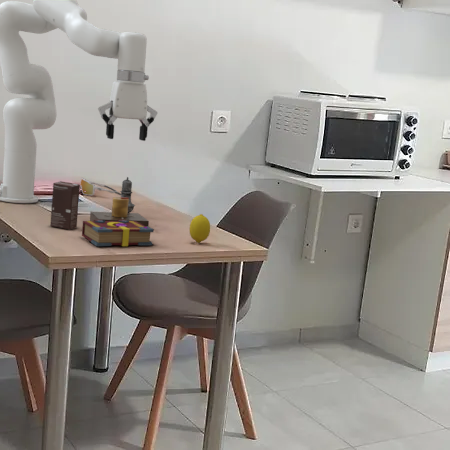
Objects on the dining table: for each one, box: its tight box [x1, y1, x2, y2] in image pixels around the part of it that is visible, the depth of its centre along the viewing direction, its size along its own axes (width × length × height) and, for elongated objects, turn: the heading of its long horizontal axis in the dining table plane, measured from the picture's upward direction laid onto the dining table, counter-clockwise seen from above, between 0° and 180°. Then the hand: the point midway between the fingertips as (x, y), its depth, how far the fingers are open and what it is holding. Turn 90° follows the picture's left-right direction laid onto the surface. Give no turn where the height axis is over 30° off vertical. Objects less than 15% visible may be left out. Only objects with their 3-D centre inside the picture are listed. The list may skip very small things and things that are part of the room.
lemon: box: [188, 213, 211, 244], centre depth 200 cm, size 6×6×8 cm
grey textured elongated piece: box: [119, 176, 136, 213], centre depth 227 cm, size 6×6×12 cm
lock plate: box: [89, 211, 150, 227], centre depth 211 cm, size 14×11×3 cm
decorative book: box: [81, 220, 154, 247], centre depth 192 cm, size 11×16×5 cm
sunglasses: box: [79, 177, 121, 197], centre depth 264 cm, size 14×15×5 cm
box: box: [50, 181, 81, 230], centre depth 201 cm, size 6×4×12 cm
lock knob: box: [111, 196, 129, 218], centre depth 210 cm, size 4×4×5 cm
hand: (126, 139), depth 212 cm, fingers open, 9 cm apart
